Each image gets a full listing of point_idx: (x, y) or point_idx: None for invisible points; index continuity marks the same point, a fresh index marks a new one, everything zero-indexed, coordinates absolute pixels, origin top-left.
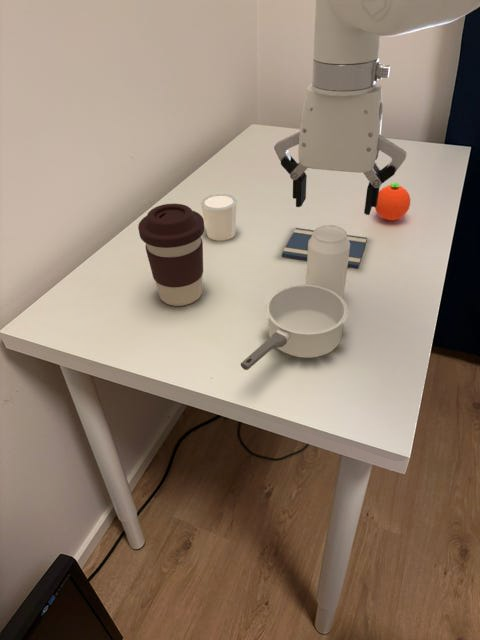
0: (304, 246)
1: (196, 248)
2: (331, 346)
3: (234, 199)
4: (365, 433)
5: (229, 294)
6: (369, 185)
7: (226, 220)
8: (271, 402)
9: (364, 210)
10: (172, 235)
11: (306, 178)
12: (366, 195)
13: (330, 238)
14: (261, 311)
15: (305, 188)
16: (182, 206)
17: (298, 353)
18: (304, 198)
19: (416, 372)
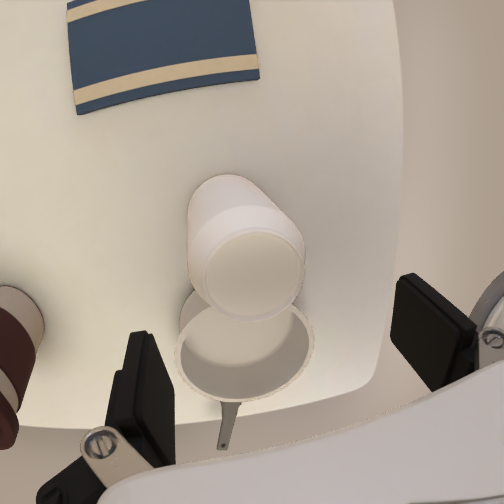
0: (112, 60)
1: (13, 387)
2: (289, 343)
3: None
4: (340, 389)
5: (68, 283)
6: (447, 378)
7: None
8: (245, 408)
9: (395, 345)
10: (1, 442)
11: (143, 398)
12: (423, 380)
13: (263, 298)
14: (141, 298)
15: (150, 373)
16: None
17: (250, 368)
18: (157, 356)
19: (385, 301)
